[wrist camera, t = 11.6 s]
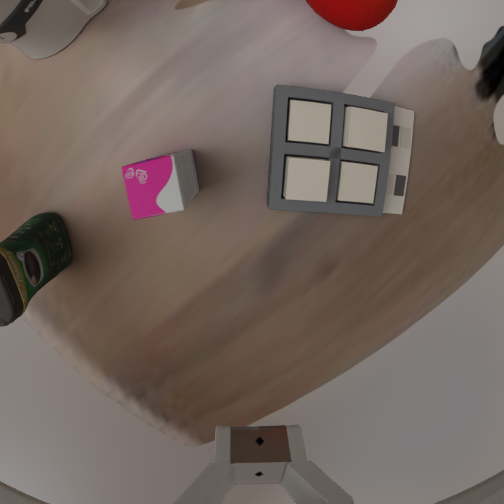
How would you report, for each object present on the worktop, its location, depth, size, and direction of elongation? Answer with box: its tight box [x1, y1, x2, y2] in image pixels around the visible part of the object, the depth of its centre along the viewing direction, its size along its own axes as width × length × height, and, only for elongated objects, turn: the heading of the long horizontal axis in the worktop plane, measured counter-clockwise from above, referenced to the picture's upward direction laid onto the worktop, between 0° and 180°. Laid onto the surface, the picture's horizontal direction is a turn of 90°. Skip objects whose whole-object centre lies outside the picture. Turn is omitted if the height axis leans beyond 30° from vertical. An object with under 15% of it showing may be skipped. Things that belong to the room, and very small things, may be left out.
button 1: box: [336, 160, 378, 203], centre depth 39 cm, size 5×5×2 cm
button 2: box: [342, 107, 388, 152], centre depth 35 cm, size 5×5×2 cm
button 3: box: [283, 156, 331, 202], centre depth 37 cm, size 5×5×2 cm
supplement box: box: [122, 150, 200, 220], centre depth 34 cm, size 6×6×12 cm
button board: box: [267, 85, 414, 217], centre depth 38 cm, size 16×20×3 cm
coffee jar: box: [0, 213, 72, 326], centre depth 33 cm, size 10×8×19 cm
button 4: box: [285, 100, 331, 144], centre depth 36 cm, size 5×5×2 cm
